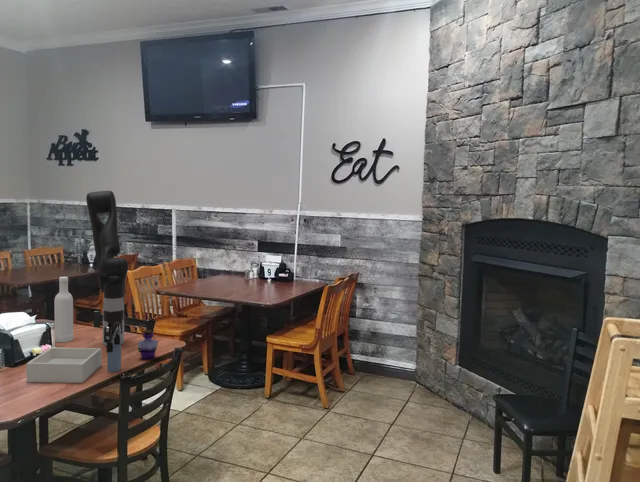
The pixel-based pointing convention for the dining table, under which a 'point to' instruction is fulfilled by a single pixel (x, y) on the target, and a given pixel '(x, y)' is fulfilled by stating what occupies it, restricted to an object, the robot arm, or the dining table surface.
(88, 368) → the walled box
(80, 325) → the dining table surface
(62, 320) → the bottle
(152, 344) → the potion bottle
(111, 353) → the peg
